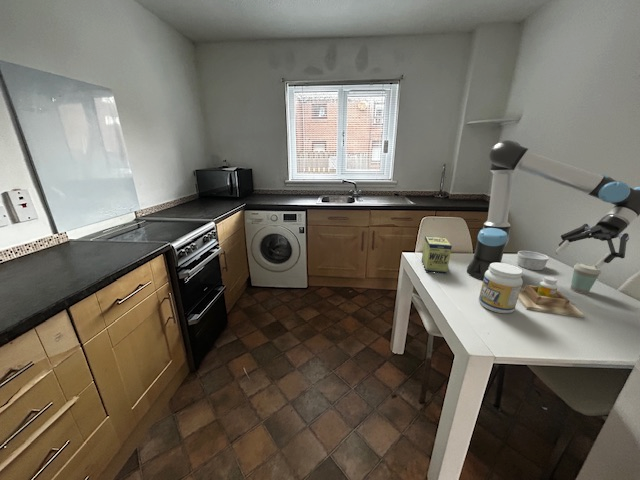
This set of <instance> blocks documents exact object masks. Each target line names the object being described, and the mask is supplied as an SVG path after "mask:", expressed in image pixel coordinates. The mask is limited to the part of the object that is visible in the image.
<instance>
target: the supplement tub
mask: <svg viewBox="0 0 640 480" xmlns="http://www.w3.org/2000/svg"><path fill="white" fill-rule="evenodd" d="M522 276H523V269H521V268H520V267H517V266H515V265H512V264H509V263H504V262H501V263H491V264H490V266H489V270H487V271H486V272H485V275H484V279H483V280H482V285H481V288H480V292H479V296H478V302H479V303H480V305H481V306H482V307H484V308H486V309H488V310H489V311H492V312H495V313H498V314H511V313H513V312H514V310H515V309H516V305H517V303H518V296H519V293H520V289H522V287H523V286H522V285H523V282H524V281H523V280H524V279H523V278H522Z"/></svg>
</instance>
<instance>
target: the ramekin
mask: <svg viewBox="0 0 640 480" xmlns="http://www.w3.org/2000/svg"><path fill="white" fill-rule="evenodd" d="M549 259H550V257H549V256H547V255H546V254H544V253H540V252H537V251H530V250H519V251H518V252H517V258H516V263H517V265H518V266H519V267H521V268H524V269H527V270H531V271H542V270H543V269H545V267H546V265H547V262H549Z"/></svg>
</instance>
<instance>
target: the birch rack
mask: <svg viewBox="0 0 640 480" xmlns="http://www.w3.org/2000/svg"><path fill="white" fill-rule="evenodd" d="M538 288H539V285H531V284H525V286H524V288H521V289H520V293H519V296H518V299H517V301H519V302H520V303H521V304H522V306H524V307H523V308H525V309H526V310H531V311H537V312H543V313H551V314H556V315H557V314H558V315H563V316H572V317H578V318H584V315H585V314H584V313H583V312H582V311H581V310H579V309H578V308H577V307H575V306H574V305H573V304H572V303H571V302H570V301H571V300H570V299H568V298H567V297H566V296H564V294H562V293H561V292H560V291H559V290H558V289H557V290H556V293H555V296H554V297H546V296H540V295H539V294H538V293H537V291H538Z"/></svg>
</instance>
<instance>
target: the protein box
mask: <svg viewBox="0 0 640 480" xmlns="http://www.w3.org/2000/svg"><path fill="white" fill-rule="evenodd" d="M423 241H424V242H423V249H422V256H421V263H423V264H422V266H423V265H424V267H423V269H424V268H425V269H424V271H427V272H426V273H429V272H435V273H434V274H439V273H443V274H442V275H447V274H448V268H449V264H450V263H449V262H450V257H451V253H452V247H453V246H452V245H451V243H450V242H449V241H448V239H447V238H446V237H443V236H432V235H431V236H429V235H425V236H424V240H423Z"/></svg>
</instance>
